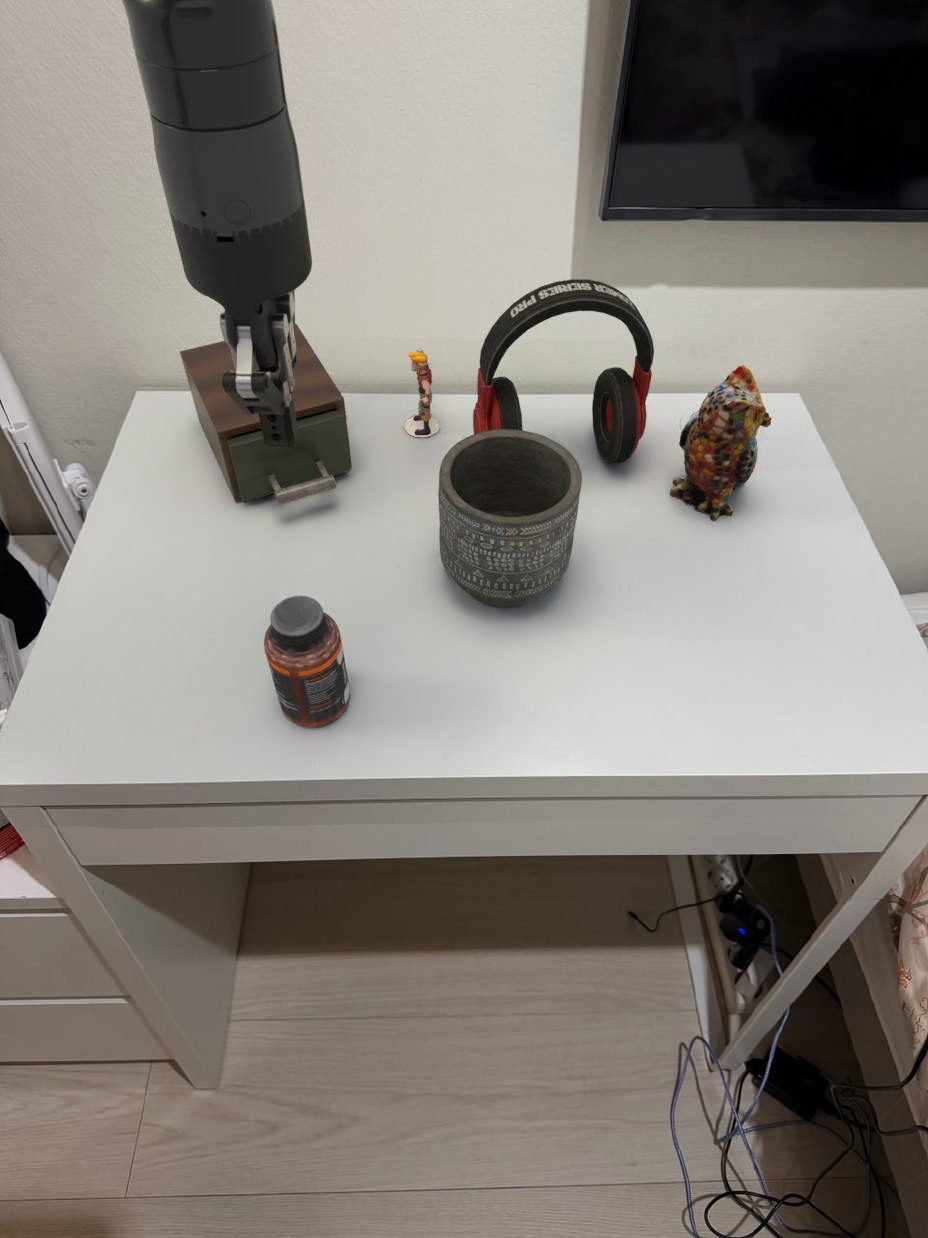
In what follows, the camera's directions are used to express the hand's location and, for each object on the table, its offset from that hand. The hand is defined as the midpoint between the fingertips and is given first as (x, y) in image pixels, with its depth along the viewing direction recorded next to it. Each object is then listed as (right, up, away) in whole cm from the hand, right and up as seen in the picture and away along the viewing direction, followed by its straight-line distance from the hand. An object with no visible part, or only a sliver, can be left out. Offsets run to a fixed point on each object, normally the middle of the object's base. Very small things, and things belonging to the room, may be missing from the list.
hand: (282, 440), depth 61 cm
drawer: (-6, +4, +29) cm, 30 cm away
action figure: (+9, +8, +34) cm, 36 cm away
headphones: (+23, +5, +32) cm, 39 cm away
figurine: (+39, 0, +28) cm, 48 cm away
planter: (+17, -9, +21) cm, 28 cm away
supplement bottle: (0, -20, +11) cm, 23 cm away
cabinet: (-8, +6, +32) cm, 34 cm away
